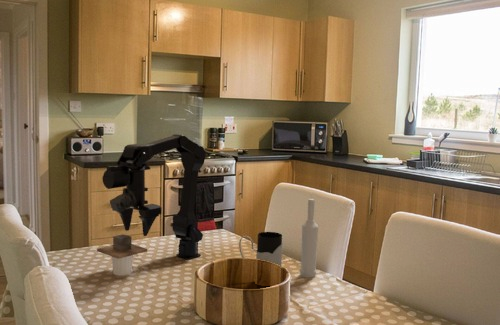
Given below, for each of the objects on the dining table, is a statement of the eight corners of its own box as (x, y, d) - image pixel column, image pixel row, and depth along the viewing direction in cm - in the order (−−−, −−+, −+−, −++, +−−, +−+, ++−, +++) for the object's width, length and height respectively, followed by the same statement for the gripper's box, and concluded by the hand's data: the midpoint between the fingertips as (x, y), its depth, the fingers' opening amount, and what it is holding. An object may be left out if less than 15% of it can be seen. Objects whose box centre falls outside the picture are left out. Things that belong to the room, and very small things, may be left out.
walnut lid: (125, 244, 172) (125, 230, 171) (147, 251, 165) (147, 236, 164) (97, 251, 163) (97, 236, 163) (118, 258, 156) (118, 243, 156)
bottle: (318, 274, 169) (321, 199, 166) (313, 279, 164) (316, 201, 161) (302, 271, 171) (306, 197, 168) (297, 276, 166) (301, 199, 164)
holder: (278, 288, 155) (279, 239, 153) (233, 282, 159) (234, 234, 158) (285, 279, 163) (287, 233, 161) (242, 273, 168) (244, 228, 166)
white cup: (127, 277, 161) (127, 255, 160) (107, 275, 162) (107, 253, 161) (136, 270, 167) (137, 249, 167) (117, 268, 169) (117, 247, 168)
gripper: (96, 184, 163) (97, 232, 165) (132, 192, 151) (133, 244, 153) (125, 180, 171) (126, 226, 173) (162, 187, 159) (162, 236, 161)
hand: (136, 233), depth 165 cm, fingers open, 9 cm apart
